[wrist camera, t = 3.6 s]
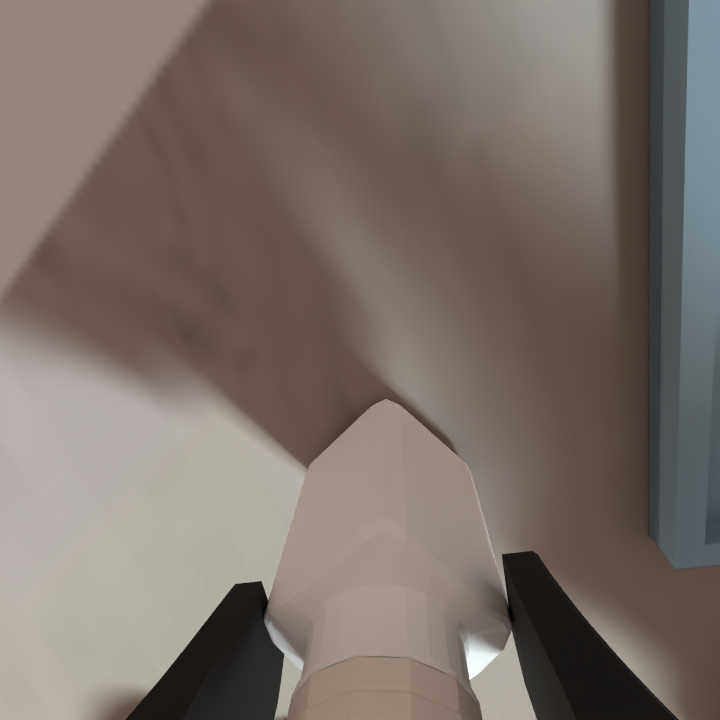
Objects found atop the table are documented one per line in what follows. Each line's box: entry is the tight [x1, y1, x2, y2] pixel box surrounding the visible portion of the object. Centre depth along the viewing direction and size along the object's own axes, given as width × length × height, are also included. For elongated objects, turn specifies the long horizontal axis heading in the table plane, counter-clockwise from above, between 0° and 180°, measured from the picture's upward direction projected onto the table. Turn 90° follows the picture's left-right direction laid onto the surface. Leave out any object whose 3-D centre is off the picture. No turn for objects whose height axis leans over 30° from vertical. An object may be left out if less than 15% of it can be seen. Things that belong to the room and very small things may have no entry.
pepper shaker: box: [264, 399, 513, 720], centre depth 11 cm, size 4×4×10 cm
